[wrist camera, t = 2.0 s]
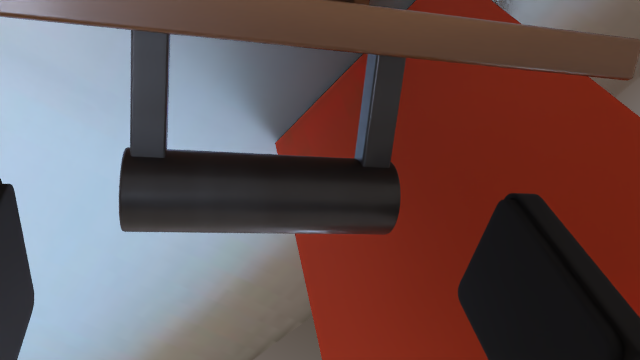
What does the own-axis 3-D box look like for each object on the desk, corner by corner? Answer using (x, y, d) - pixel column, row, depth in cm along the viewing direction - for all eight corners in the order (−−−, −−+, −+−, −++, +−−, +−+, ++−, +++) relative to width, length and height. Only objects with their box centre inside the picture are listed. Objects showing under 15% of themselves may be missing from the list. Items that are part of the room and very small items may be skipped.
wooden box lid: (-209, -69, 7) (-153, 286, 8) (645, 39, 10) (580, 277, 12) (72, -11, 23) (75, 105, 24) (366, 23, 26) (354, 123, 28)
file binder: (510, 40, 39) (1064, 519, 14) (346, 189, 45) (530, 712, 20) (447, -35, 35) (1083, 461, 10) (274, 141, 40) (395, 729, 16)
